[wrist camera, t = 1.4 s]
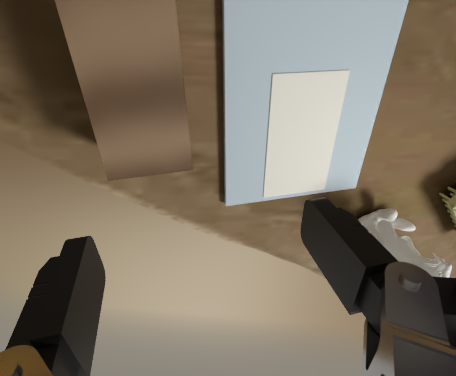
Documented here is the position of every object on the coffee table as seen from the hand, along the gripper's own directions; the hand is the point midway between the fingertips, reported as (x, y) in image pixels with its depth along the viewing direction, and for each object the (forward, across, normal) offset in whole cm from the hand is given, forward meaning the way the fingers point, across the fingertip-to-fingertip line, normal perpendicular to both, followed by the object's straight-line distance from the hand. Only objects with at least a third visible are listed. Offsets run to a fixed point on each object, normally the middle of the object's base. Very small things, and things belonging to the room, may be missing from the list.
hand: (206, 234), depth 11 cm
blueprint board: (+17, -12, +2) cm, 21 cm away
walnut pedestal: (+18, +2, -2) cm, 18 cm away
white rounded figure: (+18, -24, +19) cm, 35 cm away
